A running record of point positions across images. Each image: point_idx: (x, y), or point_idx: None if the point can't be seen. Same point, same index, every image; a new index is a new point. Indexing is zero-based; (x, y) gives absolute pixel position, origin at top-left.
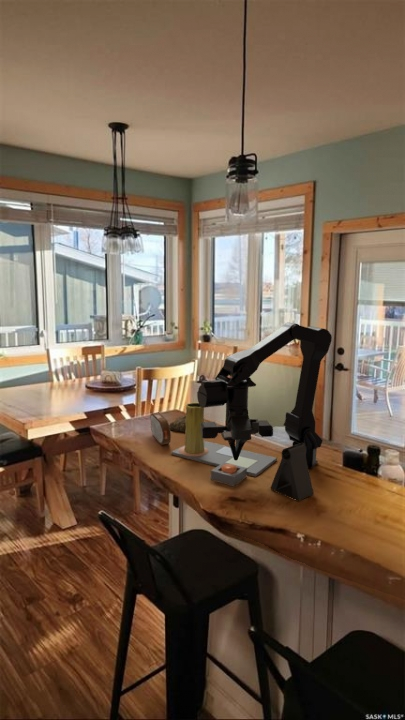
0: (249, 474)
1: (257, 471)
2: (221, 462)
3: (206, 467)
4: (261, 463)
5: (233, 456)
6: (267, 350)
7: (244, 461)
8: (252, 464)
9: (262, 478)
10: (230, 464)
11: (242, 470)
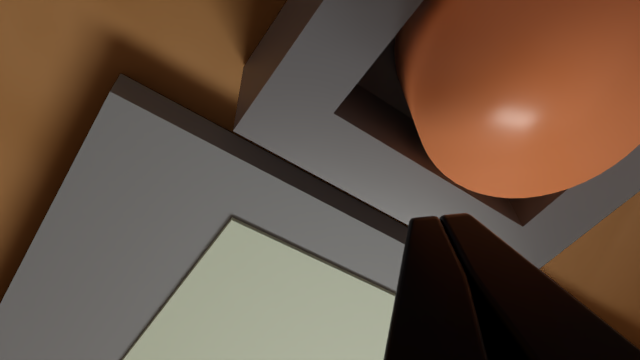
0: (202, 121)
1: (93, 160)
2: None
3: (632, 268)
4: (68, 333)
5: (525, 259)
6: None
7: (247, 356)
8: (163, 309)
9: (21, 23)
10: (489, 190)
11: (316, 33)
